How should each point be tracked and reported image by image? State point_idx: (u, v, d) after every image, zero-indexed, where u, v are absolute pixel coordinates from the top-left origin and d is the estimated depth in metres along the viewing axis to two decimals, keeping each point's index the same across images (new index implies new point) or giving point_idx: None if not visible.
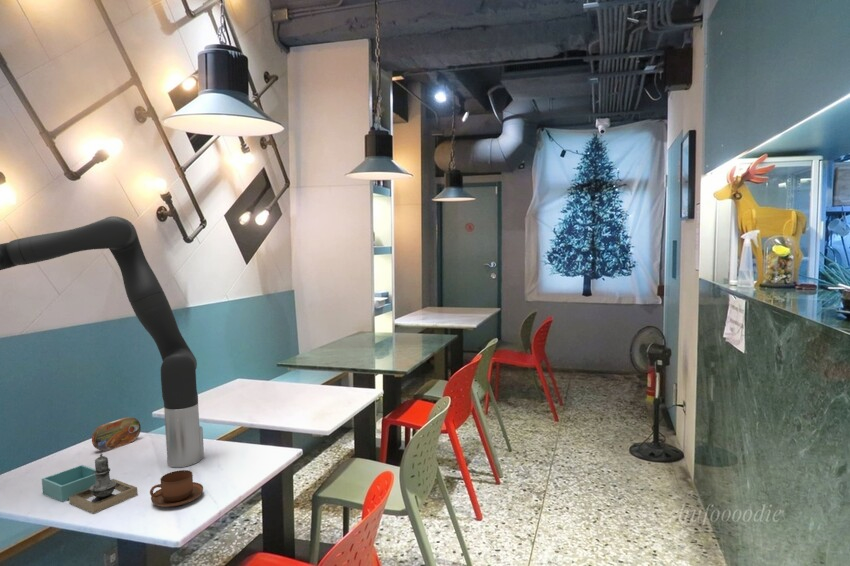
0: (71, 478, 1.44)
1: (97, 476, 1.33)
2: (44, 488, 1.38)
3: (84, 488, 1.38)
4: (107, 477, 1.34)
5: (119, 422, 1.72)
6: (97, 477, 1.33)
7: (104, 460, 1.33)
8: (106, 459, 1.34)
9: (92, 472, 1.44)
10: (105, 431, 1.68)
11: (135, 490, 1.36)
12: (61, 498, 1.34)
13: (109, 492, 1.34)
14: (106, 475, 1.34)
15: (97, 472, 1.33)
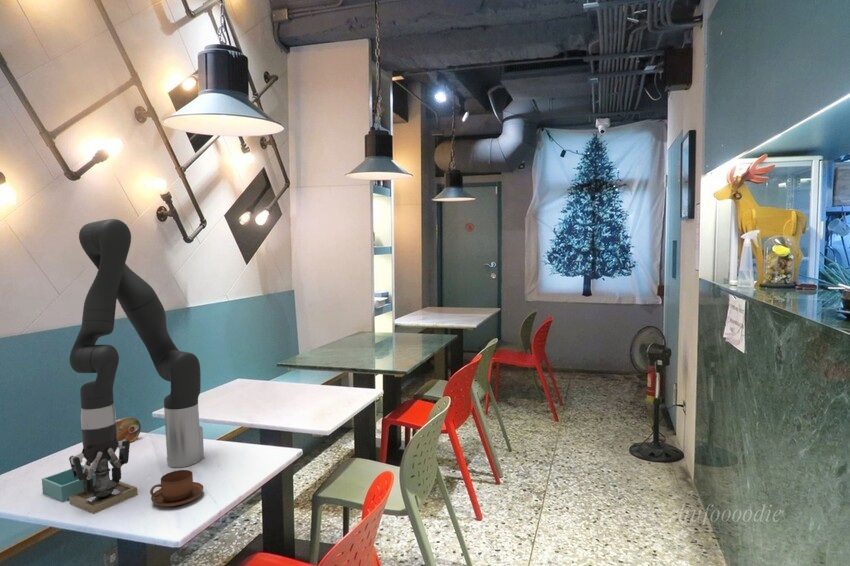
0: (71, 478, 1.44)
1: (97, 476, 1.33)
2: (44, 488, 1.38)
3: None
4: (107, 477, 1.34)
5: (119, 422, 1.72)
6: (97, 477, 1.33)
7: (104, 460, 1.33)
8: (106, 459, 1.34)
9: None
10: None
11: (135, 490, 1.36)
12: (61, 498, 1.34)
13: (109, 492, 1.34)
14: (106, 475, 1.34)
15: (97, 472, 1.33)
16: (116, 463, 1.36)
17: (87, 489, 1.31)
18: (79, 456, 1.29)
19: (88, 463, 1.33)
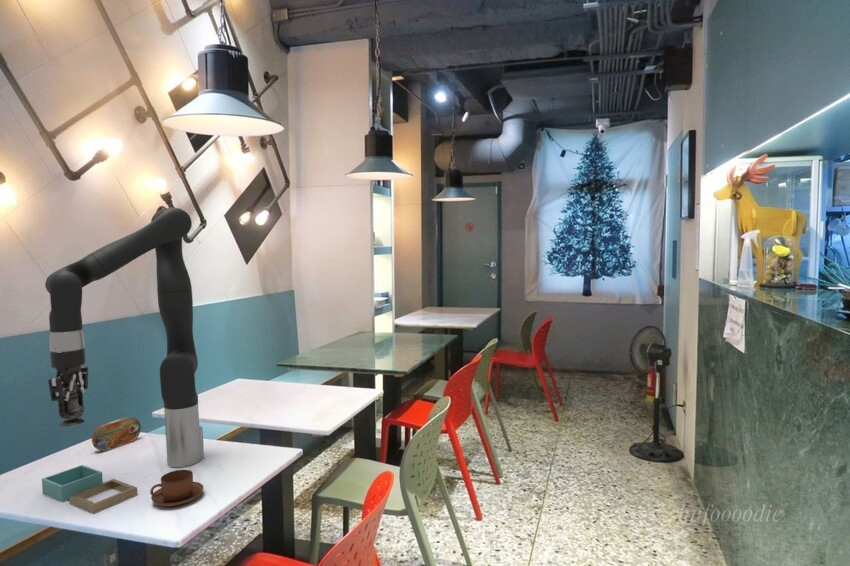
0: (71, 478, 1.44)
1: (69, 399, 1.36)
2: (44, 488, 1.38)
3: (84, 488, 1.38)
4: (77, 400, 1.38)
5: (119, 422, 1.72)
6: (69, 400, 1.36)
7: (75, 383, 1.38)
8: (75, 383, 1.38)
9: (92, 472, 1.44)
10: (105, 431, 1.68)
11: (135, 490, 1.36)
12: (61, 498, 1.34)
13: (82, 413, 1.38)
14: (77, 398, 1.38)
15: (69, 395, 1.36)
16: (81, 387, 1.41)
17: (65, 410, 1.34)
18: None
19: None
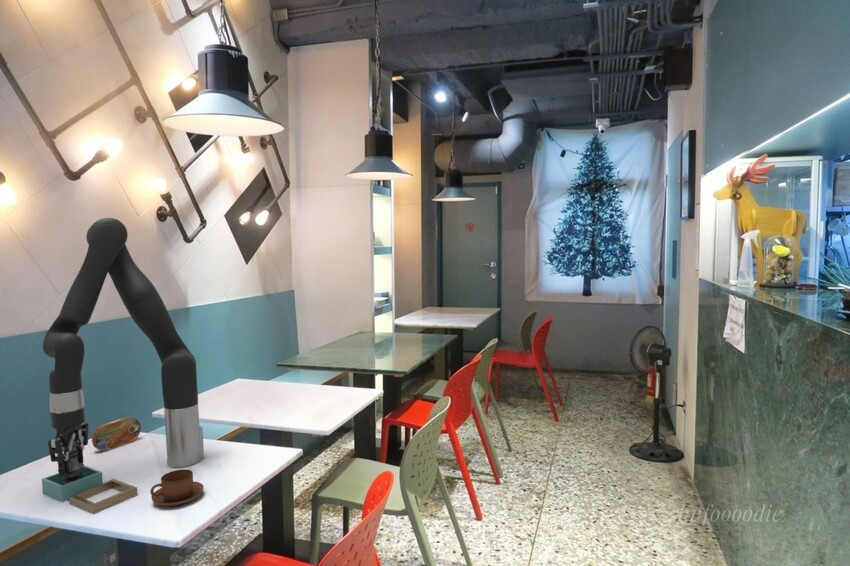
0: None
1: (68, 458, 1.39)
2: (44, 488, 1.38)
3: (84, 488, 1.38)
4: None
5: (119, 422, 1.72)
6: (69, 459, 1.39)
7: (74, 442, 1.40)
8: (75, 441, 1.41)
9: (92, 472, 1.44)
10: (105, 431, 1.68)
11: (135, 490, 1.36)
12: (61, 498, 1.34)
13: (81, 471, 1.41)
14: (76, 456, 1.40)
15: None
16: (81, 445, 1.43)
17: (64, 470, 1.36)
18: (58, 439, 1.34)
19: None
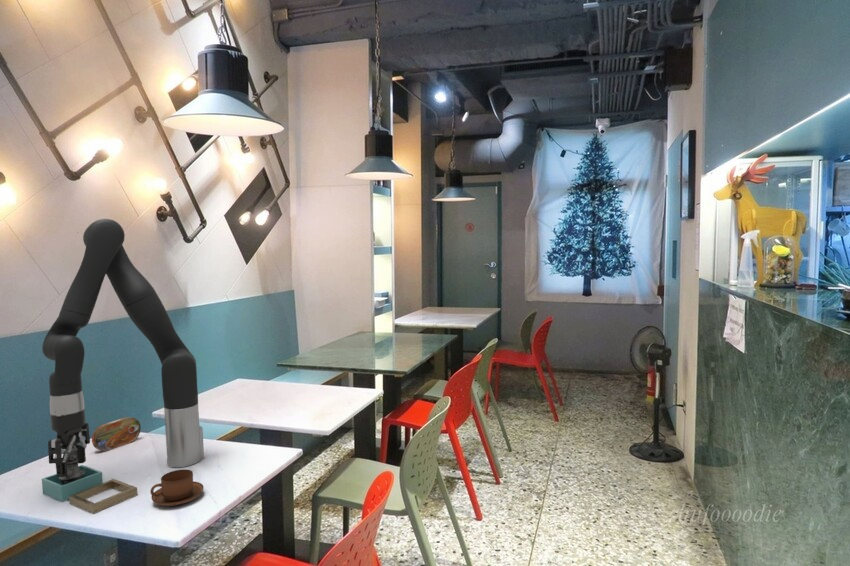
0: None
1: (69, 465, 1.39)
2: (44, 488, 1.38)
3: (84, 488, 1.38)
4: (77, 465, 1.41)
5: (119, 422, 1.72)
6: (69, 466, 1.39)
7: (75, 449, 1.40)
8: (75, 448, 1.40)
9: (92, 472, 1.44)
10: (105, 431, 1.68)
11: (135, 490, 1.36)
12: (61, 498, 1.34)
13: None
14: (77, 463, 1.40)
15: (69, 461, 1.39)
16: (83, 444, 1.44)
17: (62, 472, 1.35)
18: None
19: None
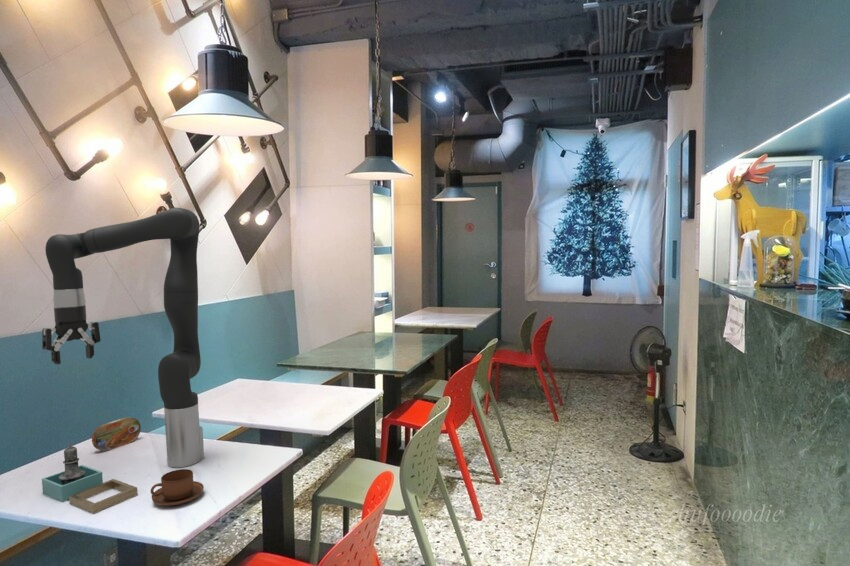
0: None
1: (69, 465, 1.39)
2: (44, 488, 1.38)
3: (84, 488, 1.38)
4: None
5: (119, 422, 1.72)
6: (70, 466, 1.39)
7: (75, 449, 1.40)
8: (76, 448, 1.41)
9: (92, 472, 1.44)
10: (105, 431, 1.68)
11: (135, 490, 1.36)
12: (61, 498, 1.34)
13: None
14: (77, 463, 1.40)
15: (69, 461, 1.39)
16: (89, 340, 1.54)
17: (55, 360, 1.46)
18: (51, 329, 1.46)
19: (58, 339, 1.49)
